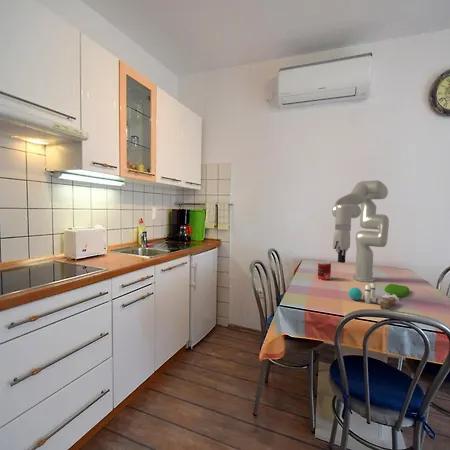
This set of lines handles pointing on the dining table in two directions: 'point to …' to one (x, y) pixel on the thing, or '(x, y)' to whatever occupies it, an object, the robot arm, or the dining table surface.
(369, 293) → the back pin near
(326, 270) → the canned food
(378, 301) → the front pin
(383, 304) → the brown wooden bar
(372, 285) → the back pin far
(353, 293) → the ball
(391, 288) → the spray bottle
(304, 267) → the dining table surface
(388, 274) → the dining table surface
